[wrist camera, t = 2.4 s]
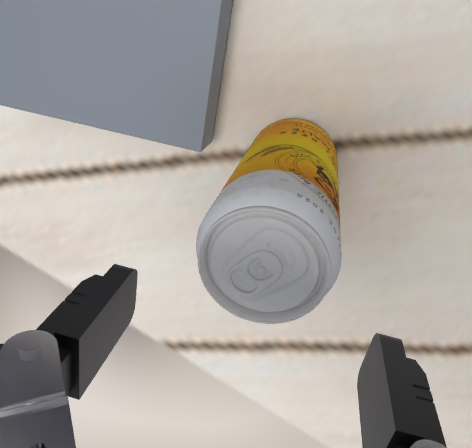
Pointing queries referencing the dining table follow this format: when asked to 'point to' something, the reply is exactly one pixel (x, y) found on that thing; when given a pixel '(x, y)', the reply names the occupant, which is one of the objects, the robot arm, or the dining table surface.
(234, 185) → the beer can
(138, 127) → the stand
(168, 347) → the dining table surface
